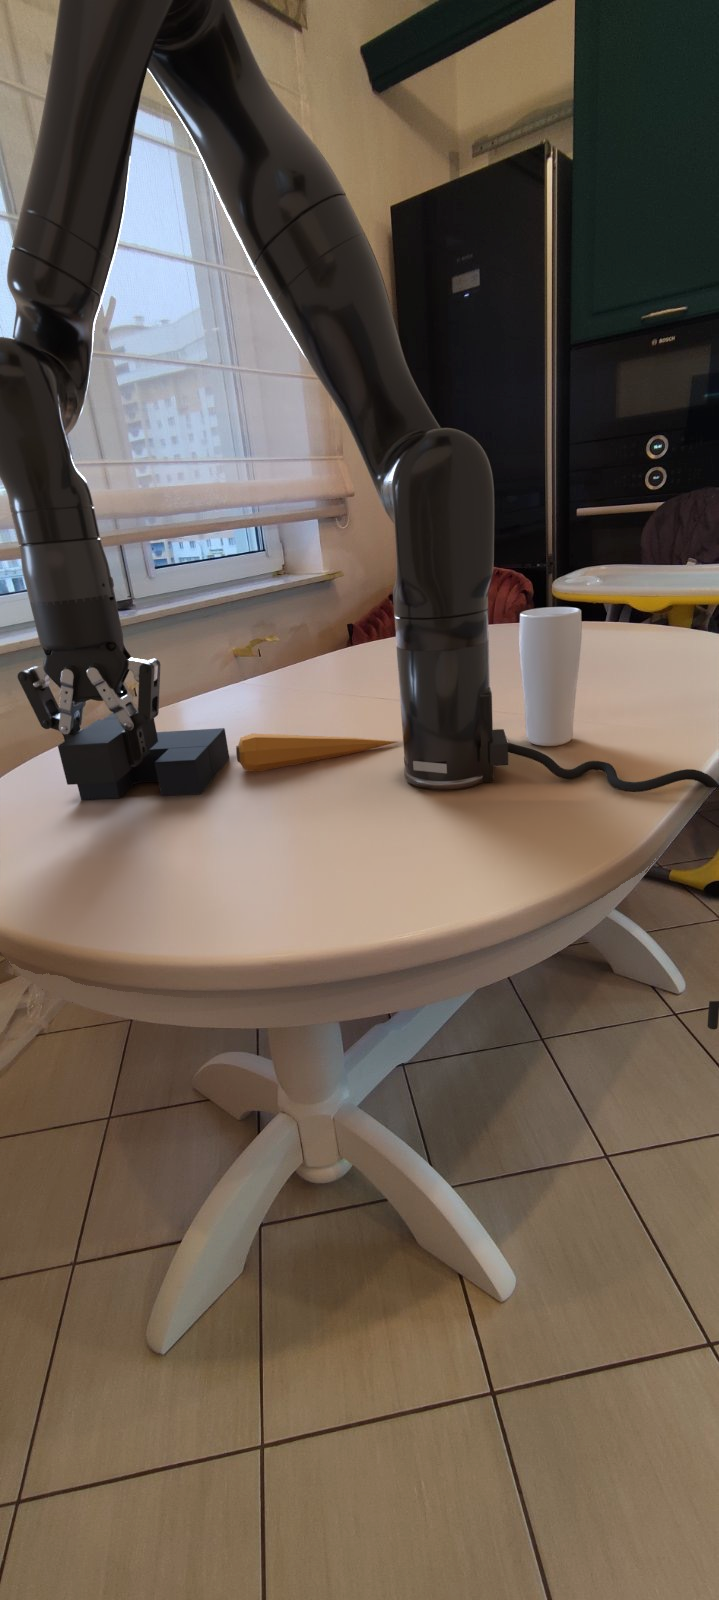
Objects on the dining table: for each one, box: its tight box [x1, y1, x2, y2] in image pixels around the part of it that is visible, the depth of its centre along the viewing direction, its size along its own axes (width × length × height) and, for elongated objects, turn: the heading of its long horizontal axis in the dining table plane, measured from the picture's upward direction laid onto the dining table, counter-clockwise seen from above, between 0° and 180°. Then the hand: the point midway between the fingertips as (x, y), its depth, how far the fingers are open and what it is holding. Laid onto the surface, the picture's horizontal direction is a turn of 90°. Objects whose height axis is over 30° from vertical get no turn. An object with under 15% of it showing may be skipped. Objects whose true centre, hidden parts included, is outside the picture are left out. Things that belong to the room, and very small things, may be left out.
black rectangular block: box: [57, 712, 158, 786], centre depth 75 cm, size 5×13×4 cm, turn 175°
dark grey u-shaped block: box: [76, 727, 230, 801], centre depth 85 cm, size 14×12×4 cm
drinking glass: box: [518, 606, 583, 747], centre depth 83 cm, size 7×7×15 cm
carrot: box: [235, 733, 398, 773], centre depth 87 cm, size 20×4×4 cm, turn 106°
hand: (110, 764), depth 74 cm, fingers closed on black rectangular block, 5 cm apart
